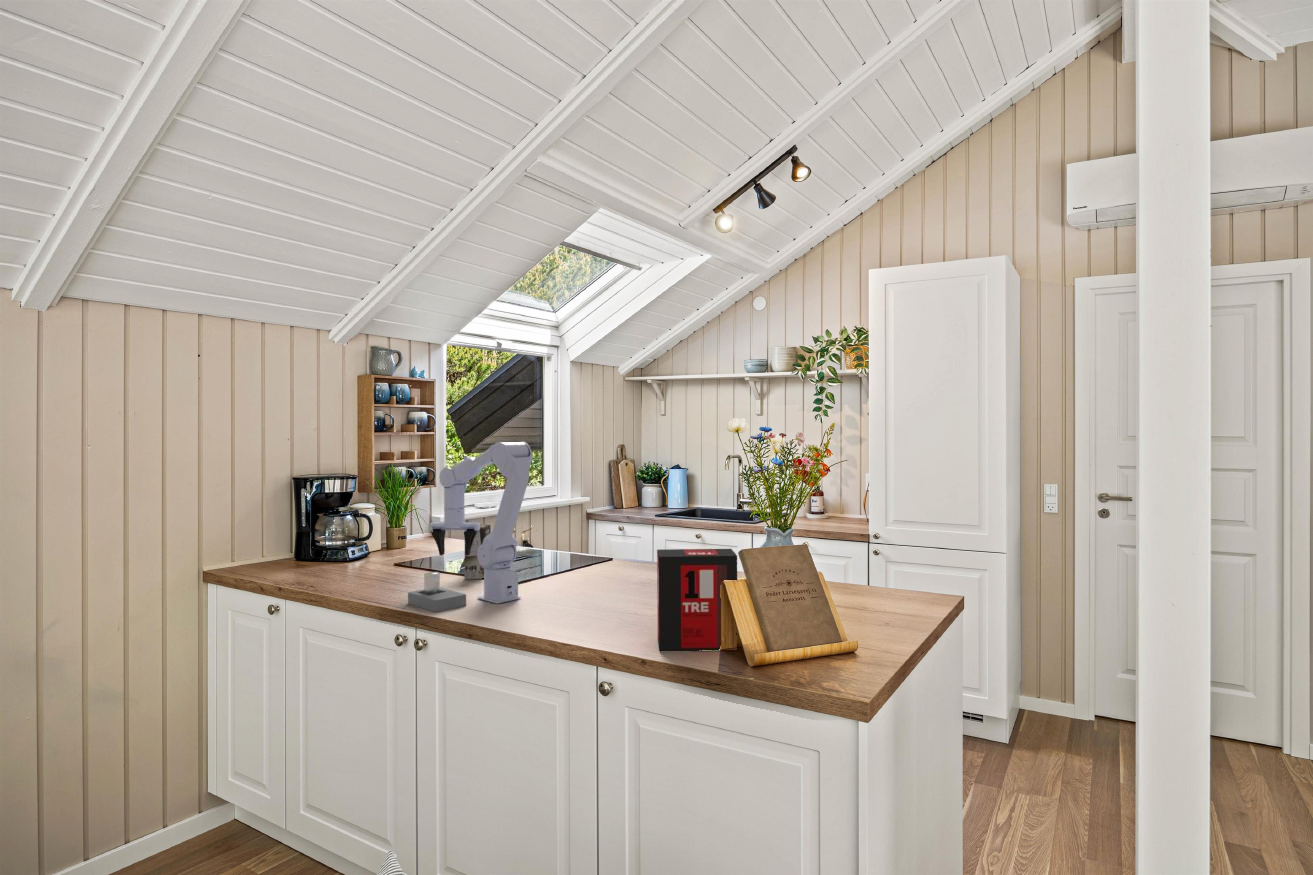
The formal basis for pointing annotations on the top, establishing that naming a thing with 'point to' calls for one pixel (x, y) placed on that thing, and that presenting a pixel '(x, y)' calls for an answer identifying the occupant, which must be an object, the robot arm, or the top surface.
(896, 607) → the top surface
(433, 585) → the peg
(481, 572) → the coffee box
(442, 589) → the socket block
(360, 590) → the top surface
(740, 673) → the top surface
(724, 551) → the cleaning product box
